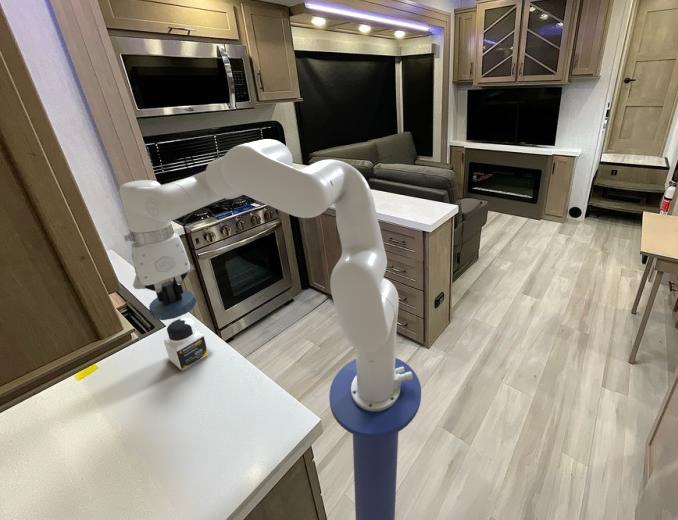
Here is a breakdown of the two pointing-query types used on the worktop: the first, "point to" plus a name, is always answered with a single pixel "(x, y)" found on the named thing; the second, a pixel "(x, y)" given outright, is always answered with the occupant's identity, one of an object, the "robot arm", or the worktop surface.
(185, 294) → the blue disc with peg
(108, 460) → the worktop surface
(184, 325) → the medicine bottle
